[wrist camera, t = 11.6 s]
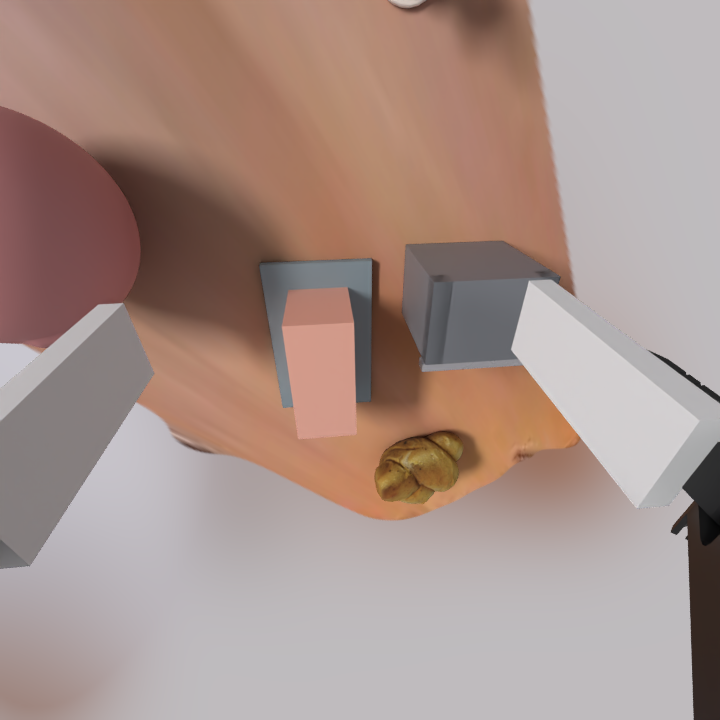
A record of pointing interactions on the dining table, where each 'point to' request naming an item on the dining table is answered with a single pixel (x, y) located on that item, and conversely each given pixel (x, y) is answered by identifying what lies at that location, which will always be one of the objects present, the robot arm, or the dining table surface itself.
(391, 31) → the dining table surface
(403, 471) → the bread roll
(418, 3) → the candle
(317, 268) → the mat
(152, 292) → the dining table surface
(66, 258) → the balloon
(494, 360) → the box
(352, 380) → the salmon pink rectangular block
